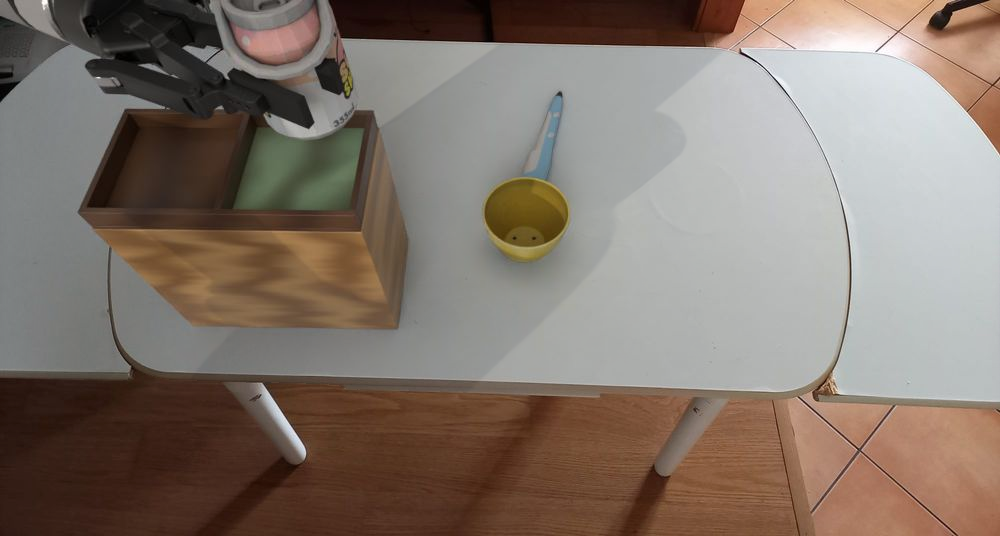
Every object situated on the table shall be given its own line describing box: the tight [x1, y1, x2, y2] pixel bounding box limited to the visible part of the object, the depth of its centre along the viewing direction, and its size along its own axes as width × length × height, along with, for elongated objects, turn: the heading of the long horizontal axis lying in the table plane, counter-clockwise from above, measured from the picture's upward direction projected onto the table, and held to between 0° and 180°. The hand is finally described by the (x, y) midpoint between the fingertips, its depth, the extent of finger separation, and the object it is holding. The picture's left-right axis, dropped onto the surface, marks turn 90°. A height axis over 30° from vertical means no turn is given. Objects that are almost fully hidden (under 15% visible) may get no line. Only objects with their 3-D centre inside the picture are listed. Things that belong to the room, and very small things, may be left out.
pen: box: [521, 90, 564, 181], centre depth 84 cm, size 19×3×3 cm, turn 166°
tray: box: [77, 108, 379, 232], centre depth 56 cm, size 24×12×2 cm, turn 89°
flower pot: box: [482, 176, 572, 263], centre depth 73 cm, size 10×10×7 cm
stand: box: [92, 127, 409, 330], centre depth 66 cm, size 24×12×20 cm, turn 89°
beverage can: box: [209, 0, 359, 140], centre depth 49 cm, size 9×8×12 cm
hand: (322, 95), depth 46 cm, fingers closed on beverage can, 3 cm apart
